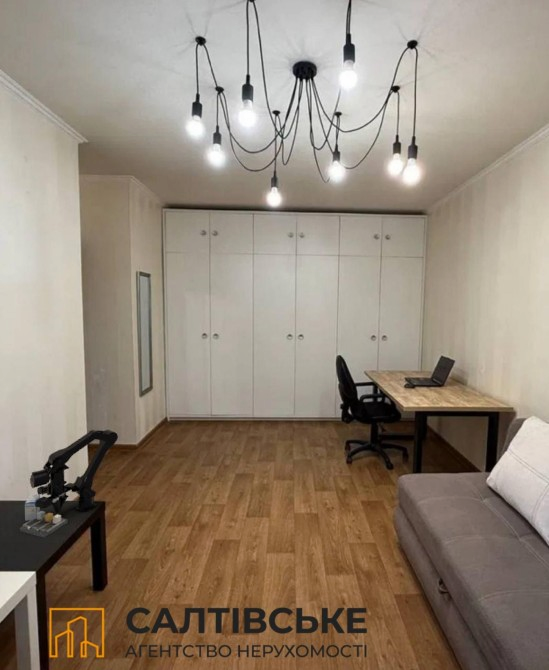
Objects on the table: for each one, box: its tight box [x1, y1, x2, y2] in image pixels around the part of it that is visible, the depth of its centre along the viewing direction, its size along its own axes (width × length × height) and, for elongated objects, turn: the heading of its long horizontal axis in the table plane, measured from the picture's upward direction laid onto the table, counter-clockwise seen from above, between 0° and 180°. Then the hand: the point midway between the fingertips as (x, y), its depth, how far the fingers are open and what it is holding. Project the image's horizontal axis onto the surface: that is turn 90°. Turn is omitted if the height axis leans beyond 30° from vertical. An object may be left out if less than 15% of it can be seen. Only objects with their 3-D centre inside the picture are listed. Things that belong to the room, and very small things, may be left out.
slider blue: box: [37, 510, 46, 520], centre depth 167 cm, size 3×2×3 cm
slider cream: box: [53, 514, 62, 524], centre depth 164 cm, size 3×2×3 cm
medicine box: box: [24, 493, 41, 522], centre depth 172 cm, size 8×4×9 cm, turn 21°
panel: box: [19, 513, 68, 538], centre depth 164 cm, size 12×14×2 cm
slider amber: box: [45, 512, 54, 522], centre depth 166 cm, size 3×2×3 cm
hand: (57, 512), depth 170 cm, fingers closed
